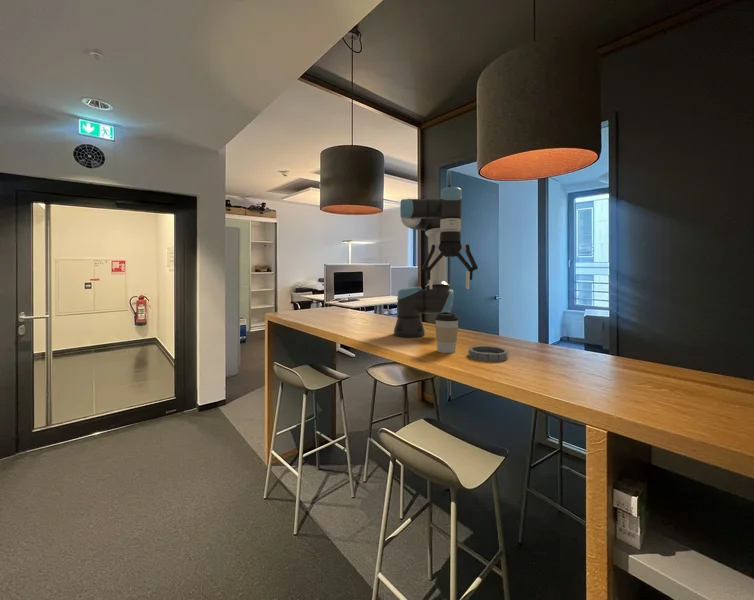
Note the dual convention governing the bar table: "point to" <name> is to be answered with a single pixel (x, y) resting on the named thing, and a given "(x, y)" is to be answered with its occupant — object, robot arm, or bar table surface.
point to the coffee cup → (446, 332)
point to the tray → (488, 353)
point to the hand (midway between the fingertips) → (449, 289)
